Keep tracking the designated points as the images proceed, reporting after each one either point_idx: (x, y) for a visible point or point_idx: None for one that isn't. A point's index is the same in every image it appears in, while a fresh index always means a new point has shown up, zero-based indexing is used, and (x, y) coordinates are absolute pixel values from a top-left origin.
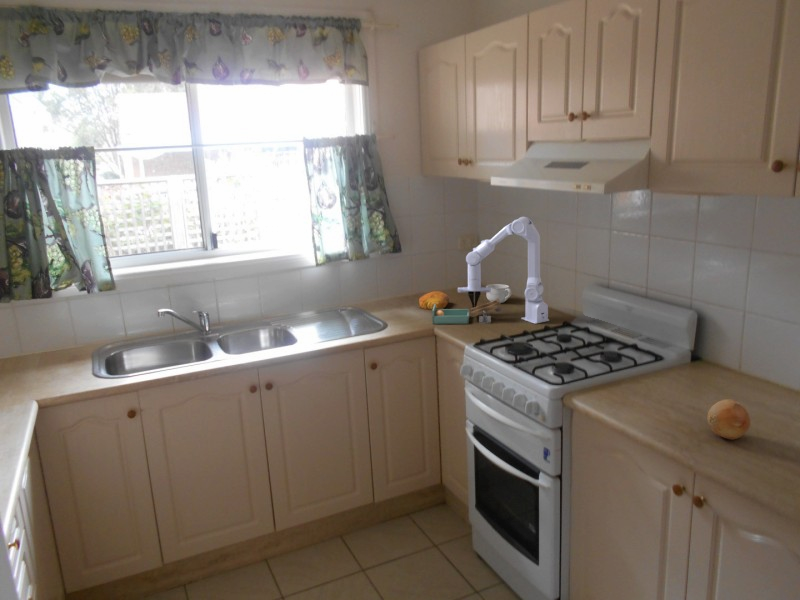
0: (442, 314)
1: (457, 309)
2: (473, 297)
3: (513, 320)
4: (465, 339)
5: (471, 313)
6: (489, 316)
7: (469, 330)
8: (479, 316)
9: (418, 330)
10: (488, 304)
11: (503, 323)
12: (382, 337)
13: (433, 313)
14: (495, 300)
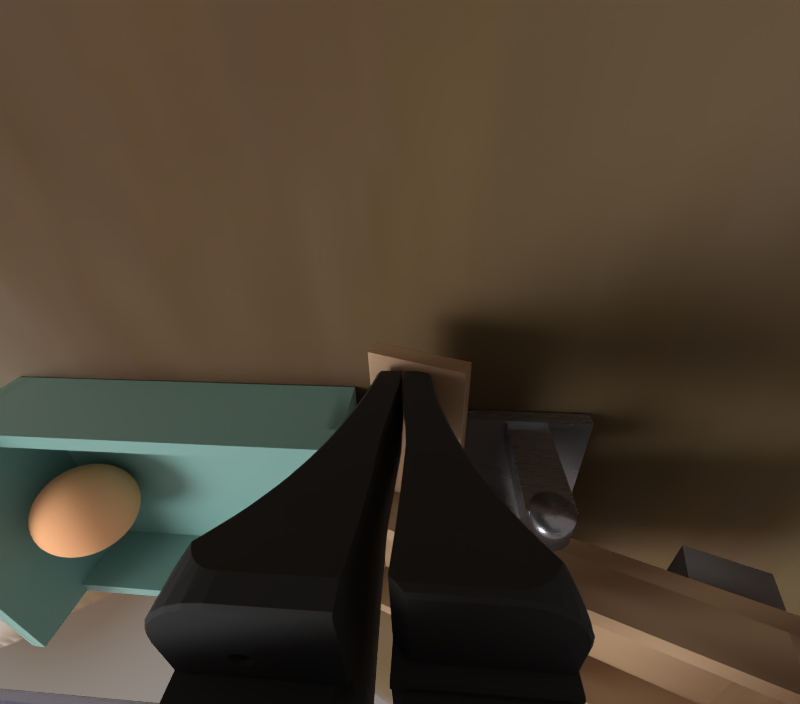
0: (118, 538)
1: (197, 454)
2: (375, 640)
3: (781, 507)
4: (382, 684)
5: (385, 598)
6: (574, 441)
7: (391, 620)
8: (466, 434)
9: (107, 595)
10: (611, 611)
11: (649, 555)
12: (11, 636)
13: (64, 616)
14: (770, 687)
